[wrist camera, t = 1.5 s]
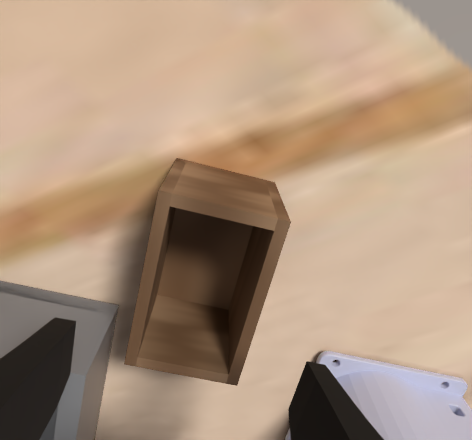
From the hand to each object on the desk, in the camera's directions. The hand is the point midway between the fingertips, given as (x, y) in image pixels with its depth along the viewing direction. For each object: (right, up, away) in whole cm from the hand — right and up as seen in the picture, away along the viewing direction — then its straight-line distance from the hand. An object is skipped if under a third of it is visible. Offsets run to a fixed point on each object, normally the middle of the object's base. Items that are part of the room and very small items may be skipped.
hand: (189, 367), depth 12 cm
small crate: (0, +3, +9) cm, 10 cm away
